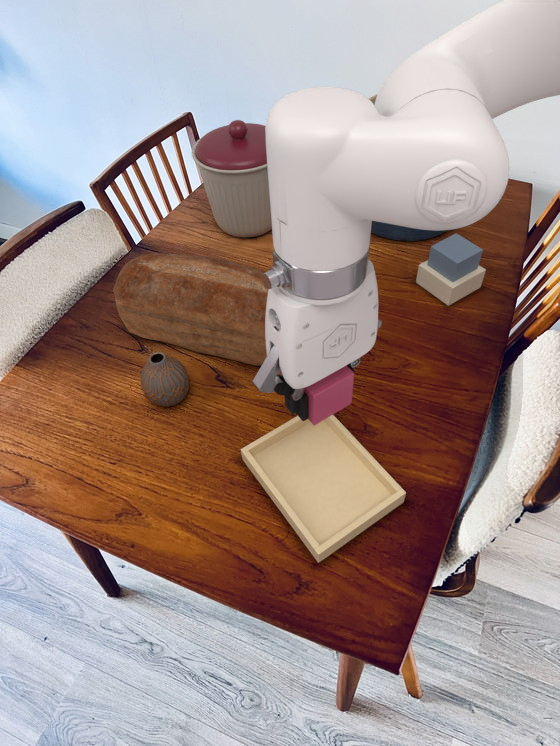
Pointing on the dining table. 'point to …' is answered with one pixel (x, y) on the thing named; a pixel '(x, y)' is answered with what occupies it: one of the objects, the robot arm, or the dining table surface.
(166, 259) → the bread
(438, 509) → the dining table surface
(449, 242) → the middle block
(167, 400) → the vase
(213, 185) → the canister
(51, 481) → the dining table surface
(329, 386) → the top block
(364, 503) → the tray
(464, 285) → the bottom block
